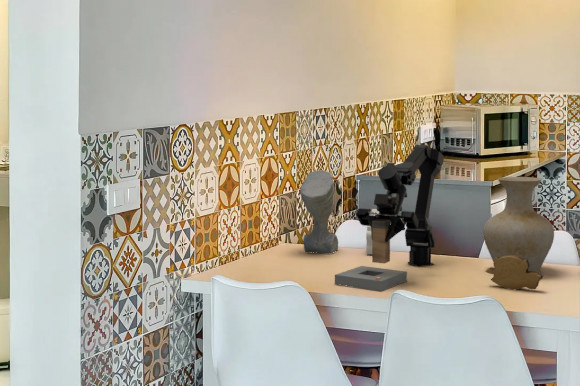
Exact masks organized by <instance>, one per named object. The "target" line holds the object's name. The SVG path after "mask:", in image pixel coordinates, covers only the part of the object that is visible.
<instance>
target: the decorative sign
mask: <svg viewBox="0 0 580 386" xmlns="http://www.w3.org/2000/svg"><path fill="white" fill-rule="evenodd" d="M371 211H372V212H376V213H378V214H379V211H377V208H371ZM365 238H366V239H365V240H366V250H365V251H366V255H367V256H372V237H371V226H366V234H365Z"/></svg>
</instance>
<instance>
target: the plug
mask: <svg viewBox="0 0 580 386" xmlns="http://www.w3.org/2000/svg"><path fill="white" fill-rule="evenodd" d="M390 225H391V222H390V220H380V219H377V220H374V221H372V255H371V256H372V257H371V260H372V261H371V263H374V264H375V263H377V264H387V263H389V262H390V261H391V239H390V240H389V241H388V242H386V241H385V238H386V235H387V232H388V230H389V227H390Z"/></svg>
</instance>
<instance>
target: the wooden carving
mask: <svg viewBox="0 0 580 386" xmlns="http://www.w3.org/2000/svg"><path fill="white" fill-rule="evenodd" d="M492 264H493V267H492V266H491V267H489V268H487V269H485V272H486V273H487V274H490V275H493V277H491V278H490V281H492V283H495V284H496V285H498V286H500V287H502V288H505V289H508V290H514V289H516V290H520V289H524V288H527V289H529V290H536V289H537V287H538V286H539V283H540V281H541V280H542V279H543V276H544V275H543V274H541V272H540V273H539V272H537V271H528V268H529V266H530V264H529V262H528V259H525V260H524V259H522V258H521V257H518V256H514V255H507V256H502V257H497V258H495V260H494V262H492Z"/></svg>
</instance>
